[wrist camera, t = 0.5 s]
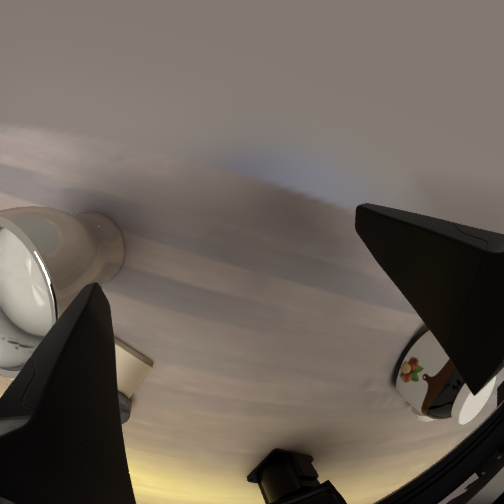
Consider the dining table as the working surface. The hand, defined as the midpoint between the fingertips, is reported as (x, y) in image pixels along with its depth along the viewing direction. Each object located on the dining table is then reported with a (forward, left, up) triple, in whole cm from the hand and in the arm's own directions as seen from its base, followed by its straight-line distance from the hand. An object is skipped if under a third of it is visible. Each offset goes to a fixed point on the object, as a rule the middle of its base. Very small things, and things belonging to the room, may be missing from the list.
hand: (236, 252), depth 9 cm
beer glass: (-7, +7, -15) cm, 18 cm away
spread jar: (-1, -33, -15) cm, 36 cm away
